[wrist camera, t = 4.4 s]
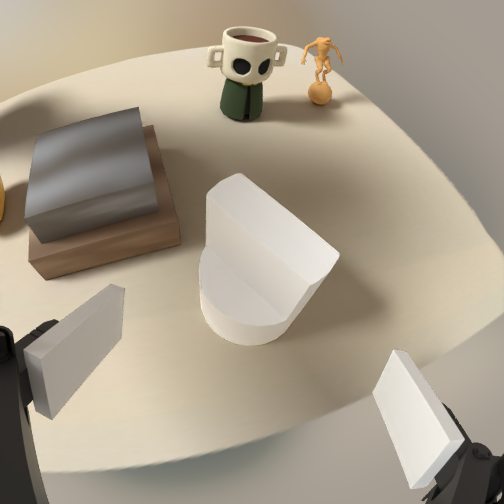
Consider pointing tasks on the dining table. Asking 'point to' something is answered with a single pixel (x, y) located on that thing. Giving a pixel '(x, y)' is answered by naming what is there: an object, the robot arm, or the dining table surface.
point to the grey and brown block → (97, 195)
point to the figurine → (321, 90)
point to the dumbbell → (1, 198)
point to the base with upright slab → (256, 263)
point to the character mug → (245, 68)
